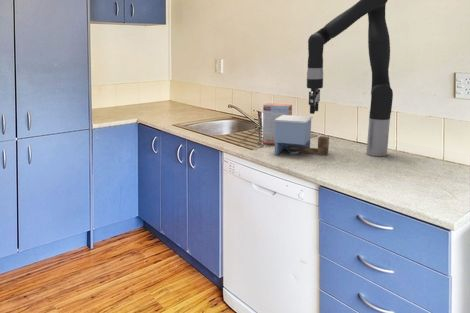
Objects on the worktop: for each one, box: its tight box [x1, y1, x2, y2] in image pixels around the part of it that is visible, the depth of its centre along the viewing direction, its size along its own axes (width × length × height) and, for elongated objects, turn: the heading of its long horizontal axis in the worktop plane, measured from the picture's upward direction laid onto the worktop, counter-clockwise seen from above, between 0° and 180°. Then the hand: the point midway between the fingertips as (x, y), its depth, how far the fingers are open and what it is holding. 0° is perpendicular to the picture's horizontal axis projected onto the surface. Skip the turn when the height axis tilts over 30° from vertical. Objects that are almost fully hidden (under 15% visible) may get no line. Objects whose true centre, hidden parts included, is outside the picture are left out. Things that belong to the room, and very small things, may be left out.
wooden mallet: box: [287, 135, 330, 156], centre depth 207 cm, size 19×4×8 cm, turn 69°
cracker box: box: [262, 102, 293, 146], centre depth 223 cm, size 14×6×21 cm, turn 59°
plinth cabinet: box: [274, 114, 313, 156], centre depth 206 cm, size 15×15×17 cm
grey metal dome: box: [288, 149, 301, 156], centre depth 206 cm, size 5×5×2 cm
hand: (314, 112), depth 205 cm, fingers open, 8 cm apart
